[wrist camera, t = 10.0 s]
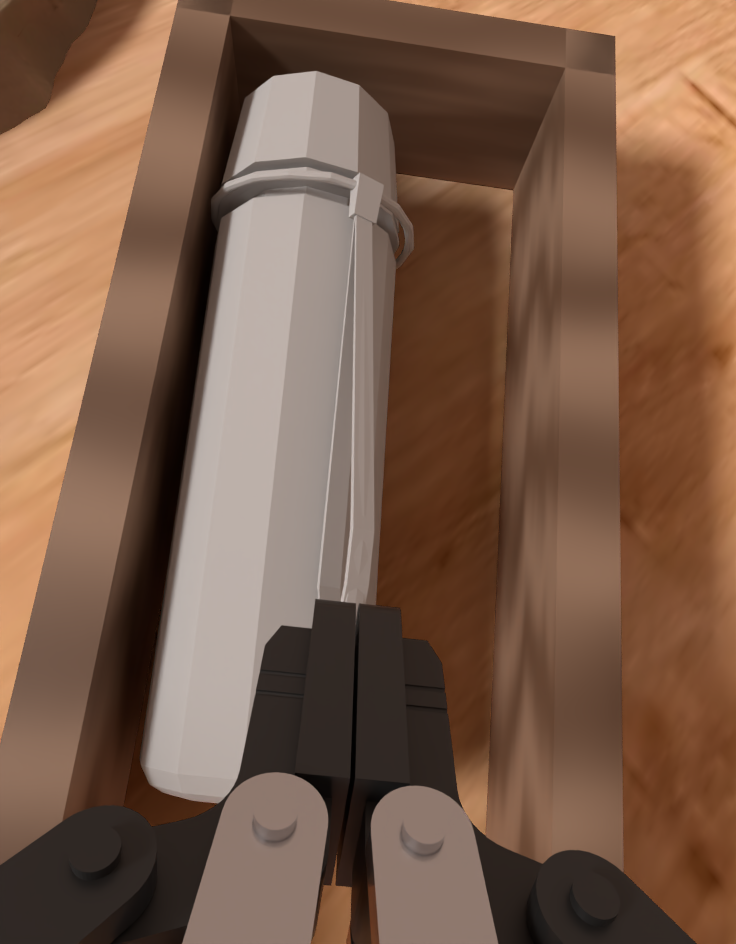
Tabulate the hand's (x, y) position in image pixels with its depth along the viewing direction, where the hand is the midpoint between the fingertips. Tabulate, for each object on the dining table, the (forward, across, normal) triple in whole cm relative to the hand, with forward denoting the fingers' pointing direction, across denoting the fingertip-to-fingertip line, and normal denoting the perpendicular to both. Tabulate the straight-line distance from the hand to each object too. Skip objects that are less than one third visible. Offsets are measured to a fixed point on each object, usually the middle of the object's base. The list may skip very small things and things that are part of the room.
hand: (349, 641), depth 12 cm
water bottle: (+4, +2, +10) cm, 11 cm away
